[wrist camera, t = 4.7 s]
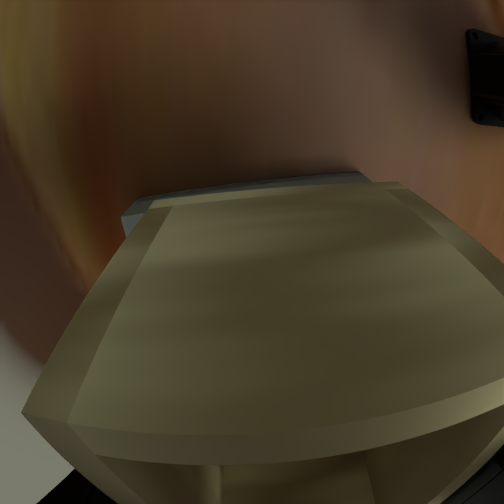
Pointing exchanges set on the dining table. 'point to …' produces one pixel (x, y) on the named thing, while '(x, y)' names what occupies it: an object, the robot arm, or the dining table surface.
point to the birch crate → (283, 353)
